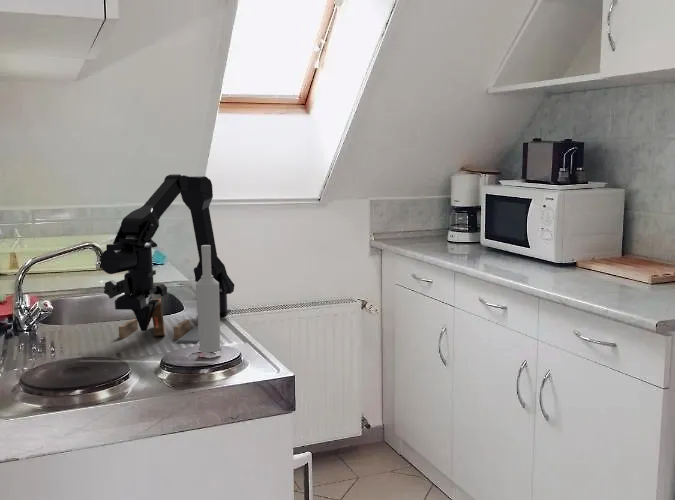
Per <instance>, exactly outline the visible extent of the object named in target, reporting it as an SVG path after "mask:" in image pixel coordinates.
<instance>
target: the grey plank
mask: <svg viewBox="0 0 675 500" xmlns="http://www.w3.org/2000/svg"><path fill="white" fill-rule="evenodd" d="M176 342H177V344H178V343H179V344H181V343H183V344H185V343H186V344H199V330H198V324H197V325H196V326H194V327H193V328H192V329H190V331H188V332H187V333H186V334H185V335H184V336H182V337H181V338H180V339H176Z"/></svg>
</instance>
